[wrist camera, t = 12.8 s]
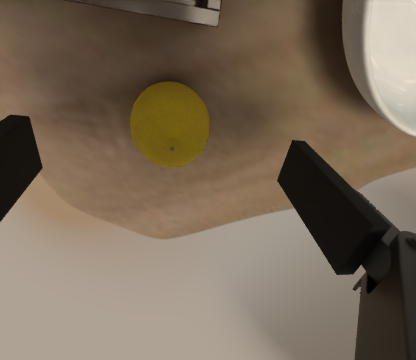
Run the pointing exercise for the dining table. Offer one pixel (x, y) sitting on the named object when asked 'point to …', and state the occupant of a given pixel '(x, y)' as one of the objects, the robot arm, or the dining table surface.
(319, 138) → the dining table surface
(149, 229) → the dining table surface
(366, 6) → the serving bowl
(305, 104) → the dining table surface
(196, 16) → the tray
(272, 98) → the dining table surface
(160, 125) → the lemon
